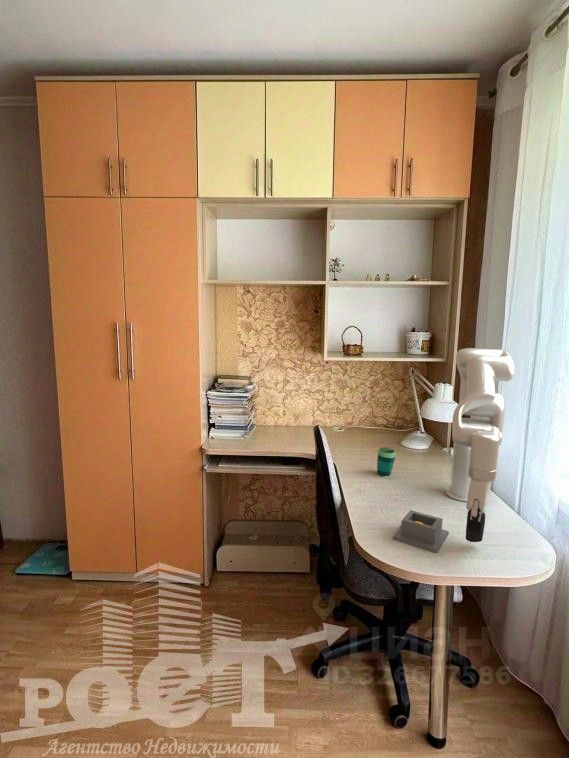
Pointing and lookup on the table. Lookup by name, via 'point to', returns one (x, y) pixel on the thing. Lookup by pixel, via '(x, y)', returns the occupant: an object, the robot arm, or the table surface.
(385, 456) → the cup
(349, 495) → the table surface
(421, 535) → the charging dock
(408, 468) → the table surface
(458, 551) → the table surface
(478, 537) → the two-way radio
